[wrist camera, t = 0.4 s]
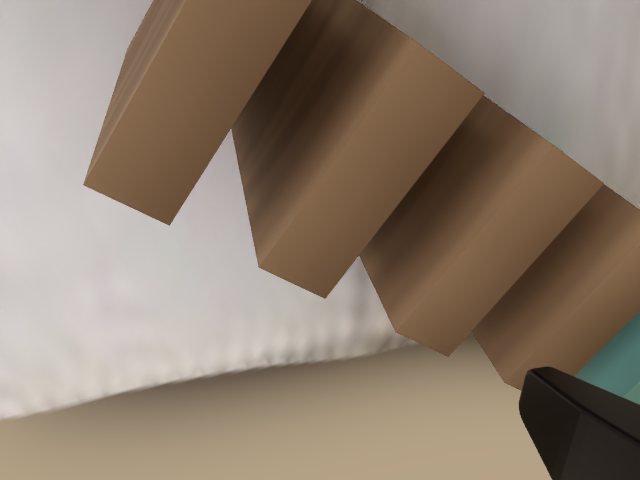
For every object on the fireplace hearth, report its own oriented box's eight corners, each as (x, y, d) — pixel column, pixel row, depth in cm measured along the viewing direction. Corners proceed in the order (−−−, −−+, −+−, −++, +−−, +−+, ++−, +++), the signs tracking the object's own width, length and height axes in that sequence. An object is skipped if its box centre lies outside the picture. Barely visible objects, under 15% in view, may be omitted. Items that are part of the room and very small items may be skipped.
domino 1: (127, 47, 19) (83, 184, 10) (210, -106, 17) (238, -93, 9) (175, 75, 19) (169, 225, 11) (258, -70, 18) (327, -25, 9)
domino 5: (452, 238, 25) (593, 424, 16) (536, 137, 23) (740, 286, 15) (479, 254, 25) (628, 441, 17) (563, 157, 24) (773, 310, 15)
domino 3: (312, 156, 22) (395, 332, 13) (397, 34, 20) (553, 145, 12) (347, 176, 22) (447, 356, 14) (432, 60, 21) (604, 183, 12)
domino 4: (387, 200, 23) (504, 382, 15) (471, 89, 22) (658, 222, 13) (418, 218, 24) (547, 402, 15) (502, 112, 22) (698, 253, 14)
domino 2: (227, 106, 20) (258, 267, 12) (311, -31, 19) (418, 43, 10) (267, 130, 21) (324, 298, 12) (352, 0, 19) (484, 93, 11)
